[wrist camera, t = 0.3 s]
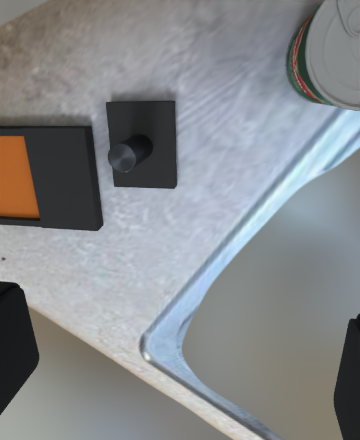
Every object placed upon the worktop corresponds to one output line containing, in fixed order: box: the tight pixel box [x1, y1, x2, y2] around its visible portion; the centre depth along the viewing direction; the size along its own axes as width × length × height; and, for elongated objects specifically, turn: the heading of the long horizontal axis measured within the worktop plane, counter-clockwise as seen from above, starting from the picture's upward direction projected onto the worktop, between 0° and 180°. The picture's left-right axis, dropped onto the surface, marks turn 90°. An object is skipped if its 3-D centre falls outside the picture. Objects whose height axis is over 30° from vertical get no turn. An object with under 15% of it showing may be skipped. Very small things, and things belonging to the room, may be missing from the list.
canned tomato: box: [285, 0, 360, 111], centre depth 24 cm, size 8×8×11 cm
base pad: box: [0, 126, 103, 231], centre depth 38 cm, size 12×16×2 cm
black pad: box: [106, 101, 177, 189], centre depth 32 cm, size 9×7×7 cm
